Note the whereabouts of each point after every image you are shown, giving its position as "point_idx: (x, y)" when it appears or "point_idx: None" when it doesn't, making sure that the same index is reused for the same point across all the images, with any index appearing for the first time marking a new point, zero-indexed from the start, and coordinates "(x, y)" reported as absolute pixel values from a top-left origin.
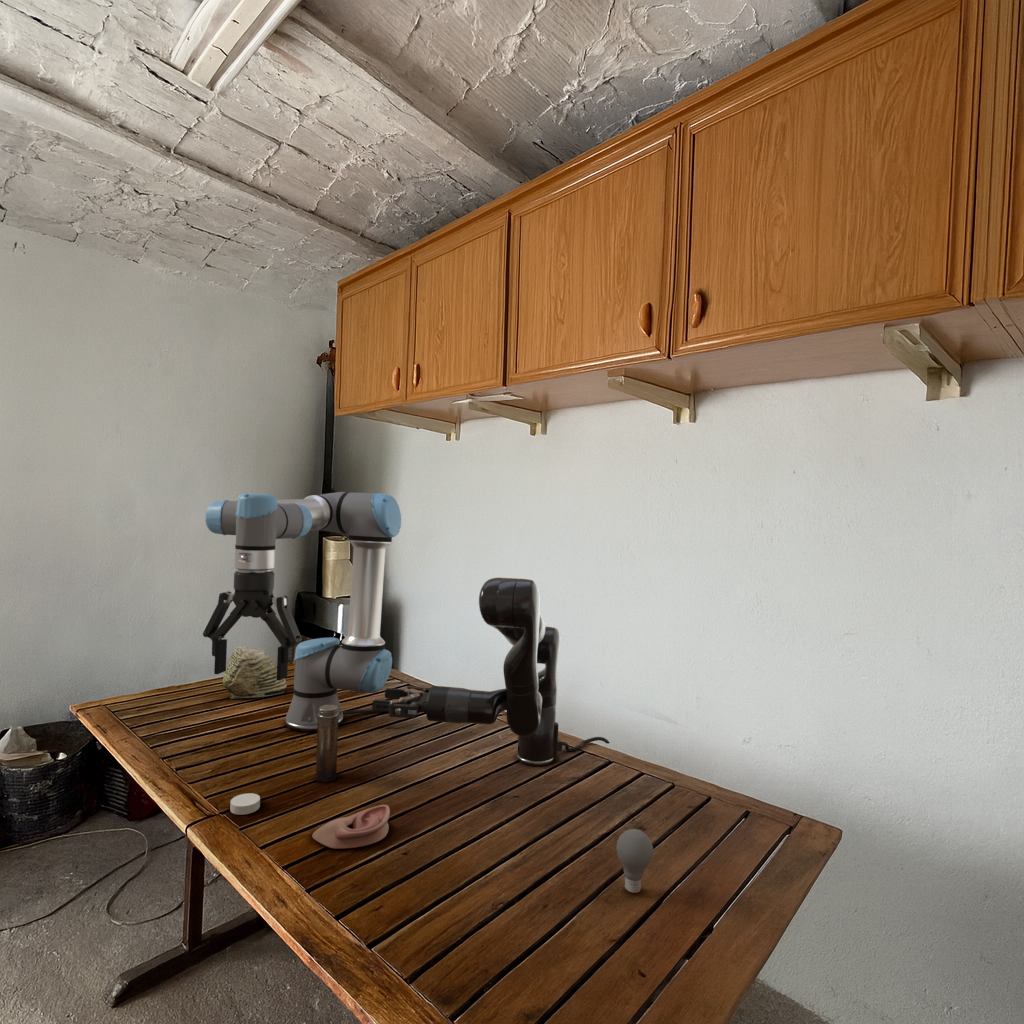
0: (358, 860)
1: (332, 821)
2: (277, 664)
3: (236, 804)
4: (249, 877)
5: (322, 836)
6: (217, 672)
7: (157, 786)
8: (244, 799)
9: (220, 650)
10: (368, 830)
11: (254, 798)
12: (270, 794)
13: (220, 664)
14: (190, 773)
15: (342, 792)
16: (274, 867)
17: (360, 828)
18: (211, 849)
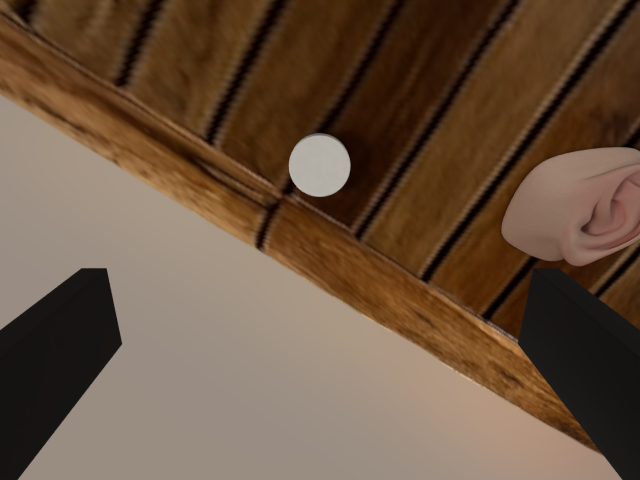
0: (600, 275)
1: (536, 199)
2: (576, 415)
3: (314, 191)
4: (444, 347)
5: (529, 246)
6: (114, 350)
7: (66, 121)
8: (317, 166)
9: (15, 451)
10: (630, 243)
11: (335, 156)
12: (338, 88)
13: (88, 359)
14: (75, 31)
15: (506, 27)
16: (470, 320)
17: (606, 225)
18: (346, 301)
